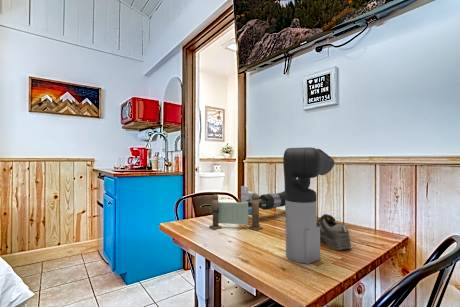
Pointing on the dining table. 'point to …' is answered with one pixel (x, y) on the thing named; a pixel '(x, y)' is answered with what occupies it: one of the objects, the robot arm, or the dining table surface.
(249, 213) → the ink box
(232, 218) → the gate
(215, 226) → the post
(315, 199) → the robot arm
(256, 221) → the hinge post
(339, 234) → the hiking shoe
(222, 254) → the dining table surface
